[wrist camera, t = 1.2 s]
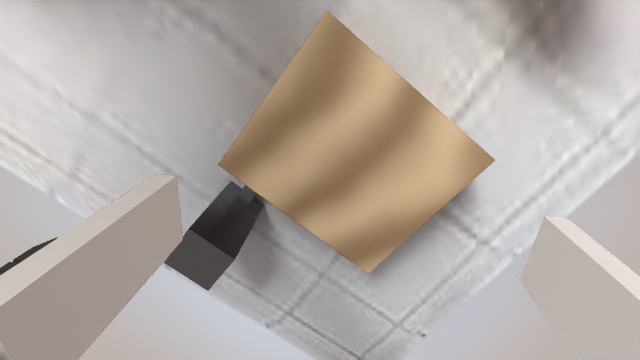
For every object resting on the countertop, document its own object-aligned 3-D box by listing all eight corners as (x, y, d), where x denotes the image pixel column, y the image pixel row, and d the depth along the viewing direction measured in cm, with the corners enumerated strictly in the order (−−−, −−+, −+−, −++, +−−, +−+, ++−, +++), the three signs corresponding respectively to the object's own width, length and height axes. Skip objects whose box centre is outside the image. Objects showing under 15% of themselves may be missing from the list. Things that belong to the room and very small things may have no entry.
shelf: (247, 138, 33) (218, 164, 26) (333, 19, 28) (326, 10, 21) (364, 227, 36) (368, 273, 29) (461, 132, 31) (495, 160, 24)
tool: (210, 208, 37) (164, 262, 28) (321, 59, 30) (307, 65, 20) (242, 230, 38) (208, 290, 29) (358, 91, 30) (361, 110, 21)
